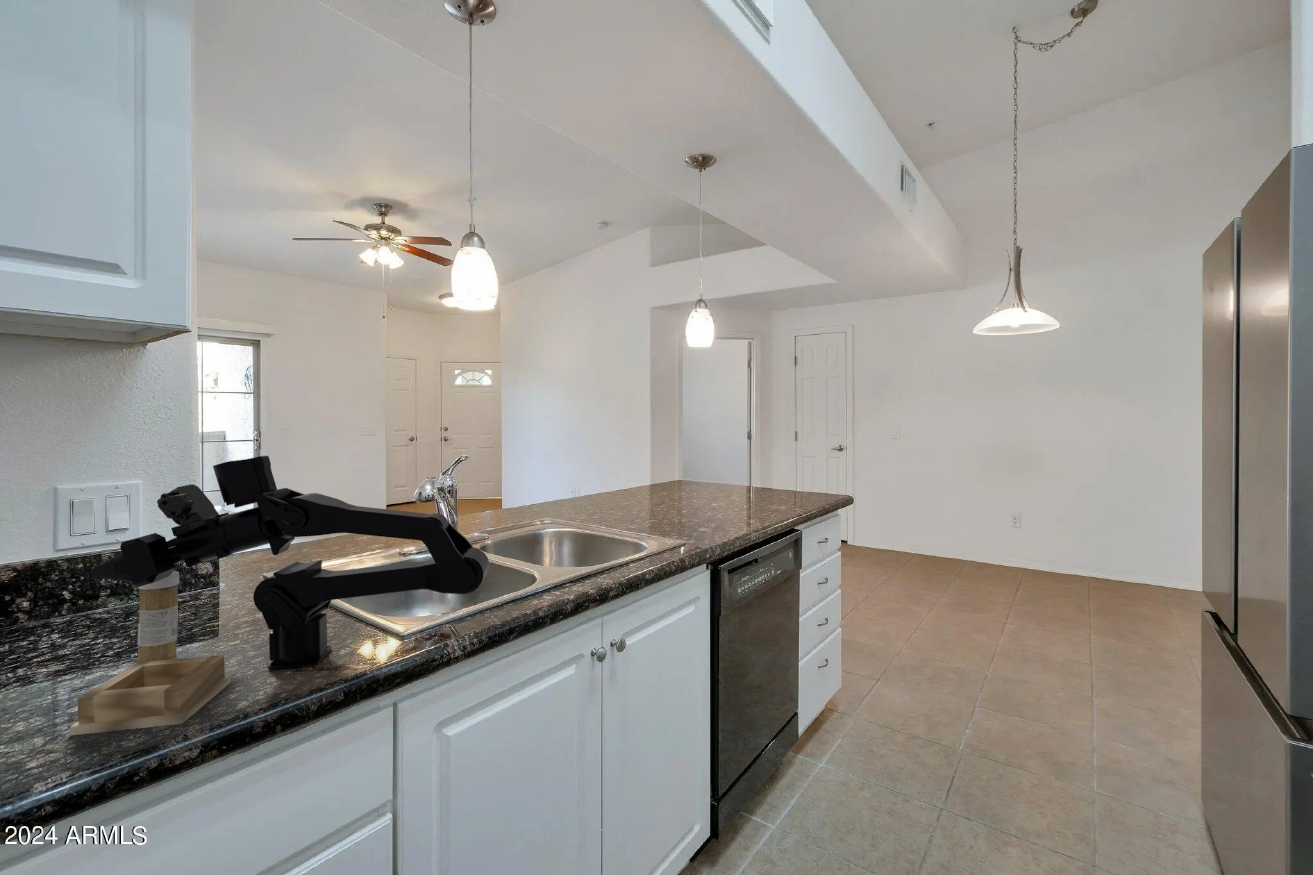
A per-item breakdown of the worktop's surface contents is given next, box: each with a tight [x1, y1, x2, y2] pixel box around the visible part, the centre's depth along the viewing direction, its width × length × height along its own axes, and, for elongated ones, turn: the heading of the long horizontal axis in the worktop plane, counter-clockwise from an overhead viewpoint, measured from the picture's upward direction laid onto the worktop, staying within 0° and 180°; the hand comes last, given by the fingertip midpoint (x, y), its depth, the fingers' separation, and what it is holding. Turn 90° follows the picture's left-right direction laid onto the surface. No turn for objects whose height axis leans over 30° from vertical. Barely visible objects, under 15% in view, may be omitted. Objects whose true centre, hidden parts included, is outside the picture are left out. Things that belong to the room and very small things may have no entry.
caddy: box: [69, 654, 232, 737], centre depth 70 cm, size 11×11×4 cm
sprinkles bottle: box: [137, 570, 180, 662], centre depth 83 cm, size 5×5×14 cm
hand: (119, 563), depth 80 cm, fingers open, 9 cm apart
